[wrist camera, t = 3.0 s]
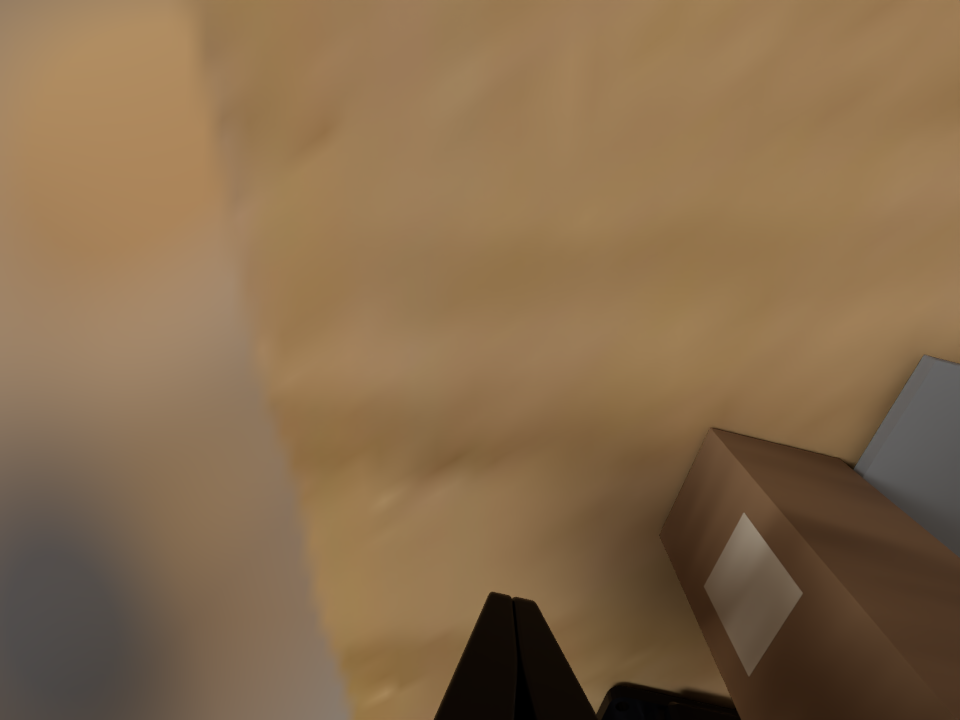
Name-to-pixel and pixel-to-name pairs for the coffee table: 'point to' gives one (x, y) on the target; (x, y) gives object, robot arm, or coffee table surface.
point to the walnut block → (814, 587)
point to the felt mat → (922, 451)
